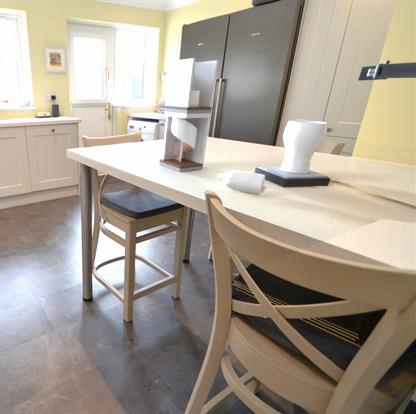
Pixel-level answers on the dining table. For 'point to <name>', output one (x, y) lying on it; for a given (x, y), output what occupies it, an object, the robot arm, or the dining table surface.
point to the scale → (292, 177)
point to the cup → (302, 144)
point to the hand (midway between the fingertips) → (393, 74)
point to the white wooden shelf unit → (188, 113)
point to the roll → (243, 181)
